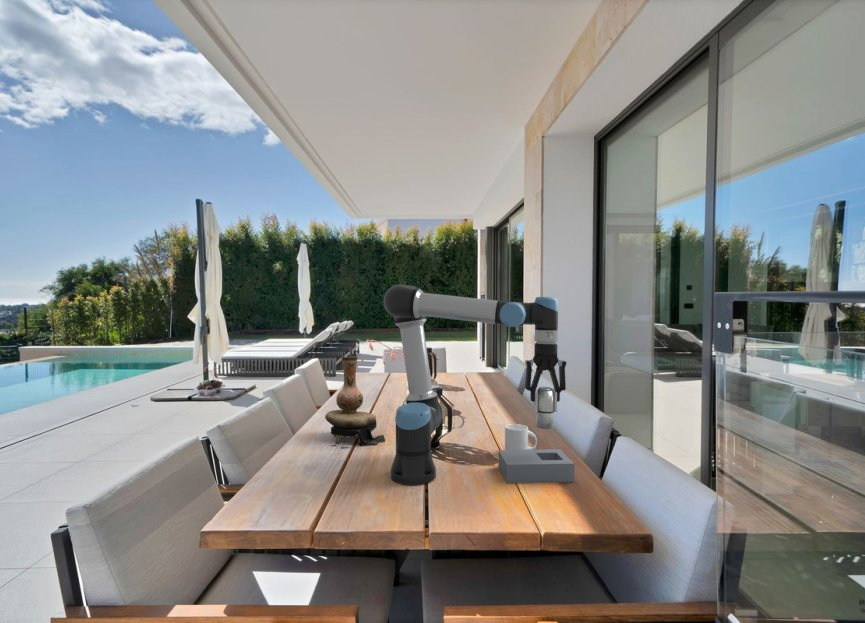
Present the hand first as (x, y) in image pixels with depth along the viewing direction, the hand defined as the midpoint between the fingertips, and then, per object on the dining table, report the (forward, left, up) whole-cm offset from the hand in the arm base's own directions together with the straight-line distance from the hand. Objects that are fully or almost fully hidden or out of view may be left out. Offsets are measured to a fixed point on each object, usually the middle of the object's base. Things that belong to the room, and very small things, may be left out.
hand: (544, 410), depth 149 cm
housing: (-3, 0, -21) cm, 22 cm away
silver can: (0, 0, -5) cm, 5 cm away
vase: (-70, +42, -22) cm, 84 cm away
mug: (-3, +19, -22) cm, 29 cm away
